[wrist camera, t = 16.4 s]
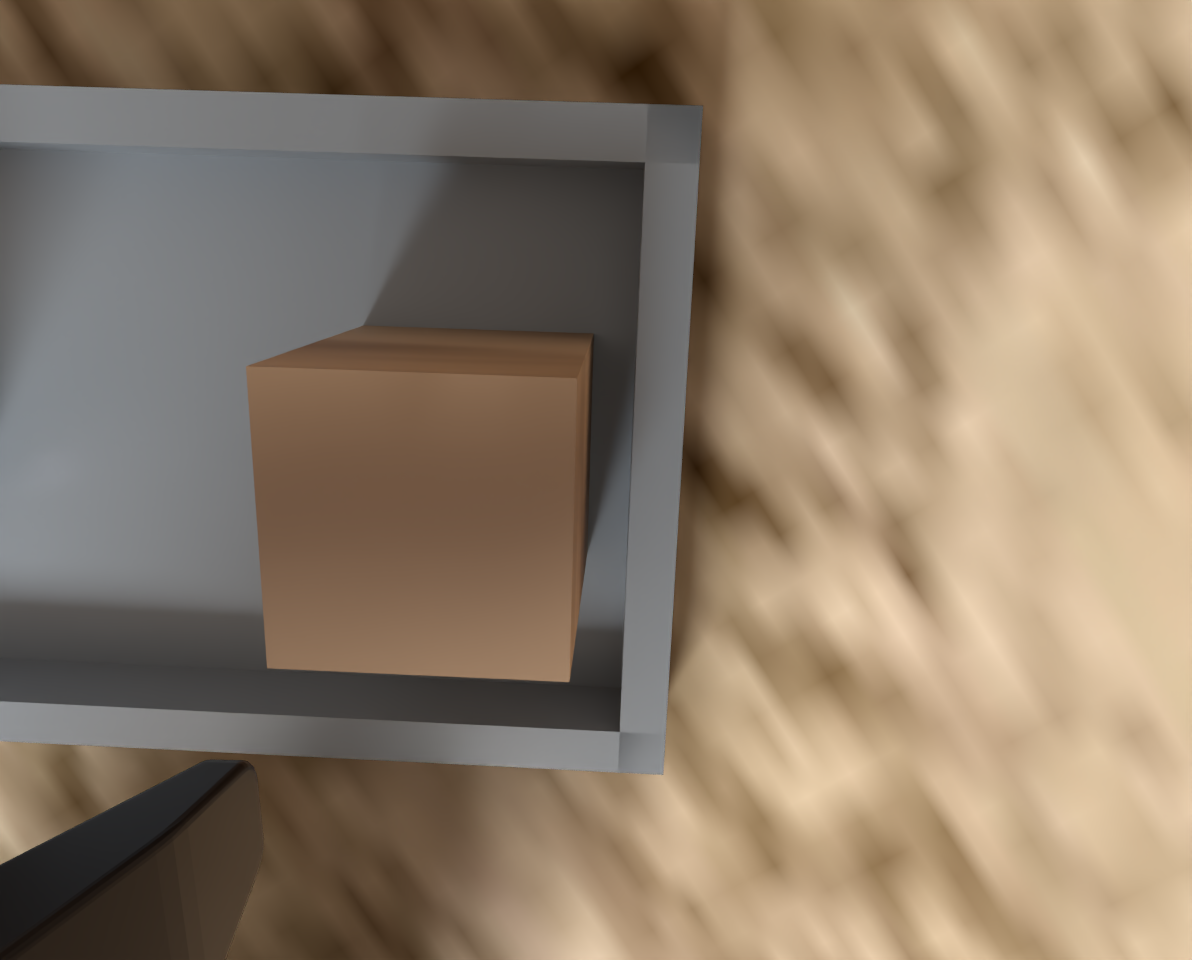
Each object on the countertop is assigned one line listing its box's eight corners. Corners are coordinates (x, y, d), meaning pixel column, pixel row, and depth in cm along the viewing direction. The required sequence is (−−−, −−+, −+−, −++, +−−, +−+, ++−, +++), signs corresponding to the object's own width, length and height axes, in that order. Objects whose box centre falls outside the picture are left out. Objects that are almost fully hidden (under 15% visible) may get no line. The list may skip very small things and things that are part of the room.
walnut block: (587, 553, 17) (569, 681, 12) (370, 543, 17) (266, 668, 12) (593, 333, 16) (576, 378, 11) (363, 325, 16) (246, 366, 11)
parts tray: (659, 711, 18) (663, 775, 16) (-219, 668, 19) (-329, 724, 17) (693, 122, 15) (702, 106, 13) (-347, 90, 16) (-499, 69, 14)
